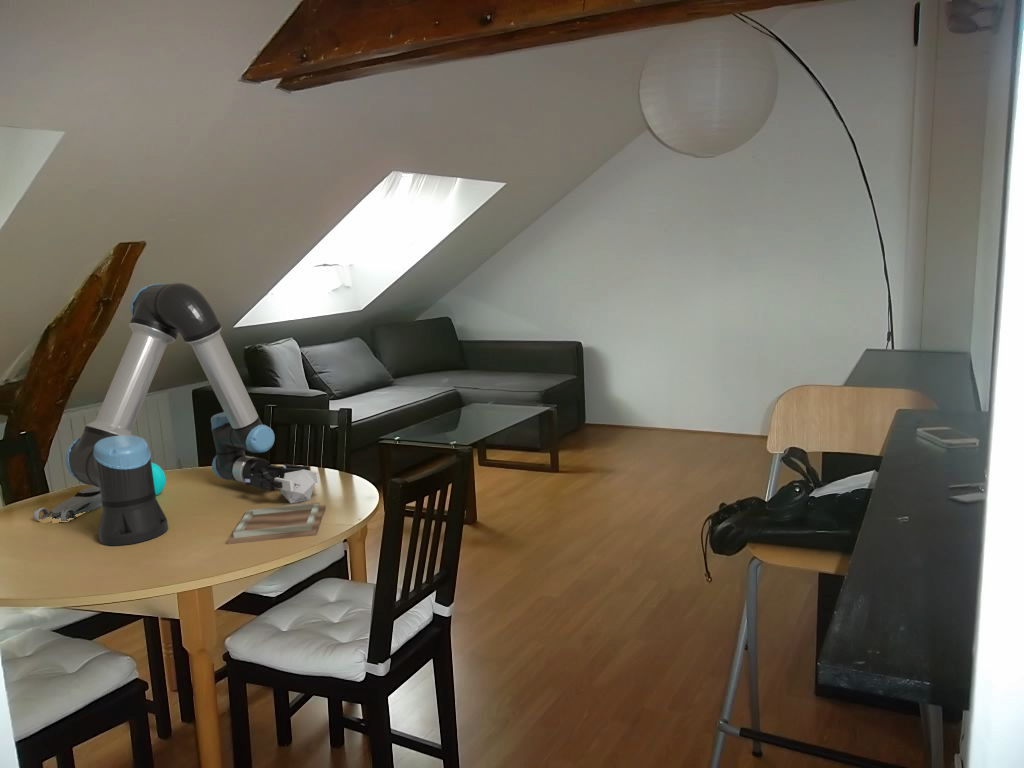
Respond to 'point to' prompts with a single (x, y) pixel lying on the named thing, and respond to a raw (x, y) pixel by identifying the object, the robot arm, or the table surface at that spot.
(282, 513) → the dice tray
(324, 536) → the table surface
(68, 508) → the car model
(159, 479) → the turquoise ball
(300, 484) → the die
